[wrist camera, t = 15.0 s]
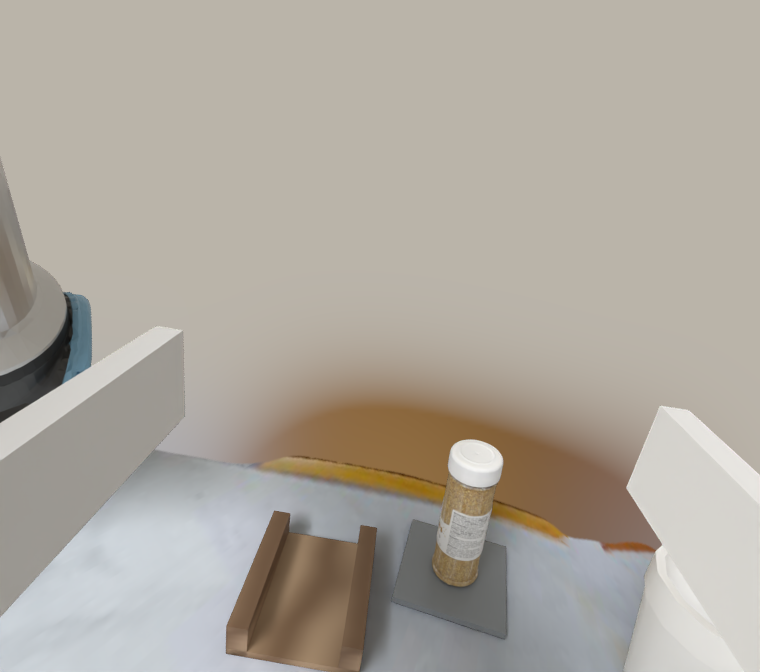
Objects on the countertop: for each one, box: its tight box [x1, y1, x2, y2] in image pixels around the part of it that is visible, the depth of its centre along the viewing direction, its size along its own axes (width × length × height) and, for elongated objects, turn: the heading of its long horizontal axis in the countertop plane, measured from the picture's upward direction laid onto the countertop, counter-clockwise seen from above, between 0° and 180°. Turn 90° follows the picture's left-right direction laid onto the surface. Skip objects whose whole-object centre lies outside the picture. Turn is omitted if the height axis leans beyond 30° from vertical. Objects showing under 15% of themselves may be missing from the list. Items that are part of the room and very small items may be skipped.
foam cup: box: [623, 545, 744, 672], centre depth 32 cm, size 10×9×13 cm
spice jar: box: [432, 440, 503, 587], centre depth 42 cm, size 5×5×14 cm
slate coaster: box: [391, 519, 506, 639], centre depth 44 cm, size 10×10×1 cm
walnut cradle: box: [226, 511, 377, 672], centre depth 40 cm, size 10×12×3 cm
